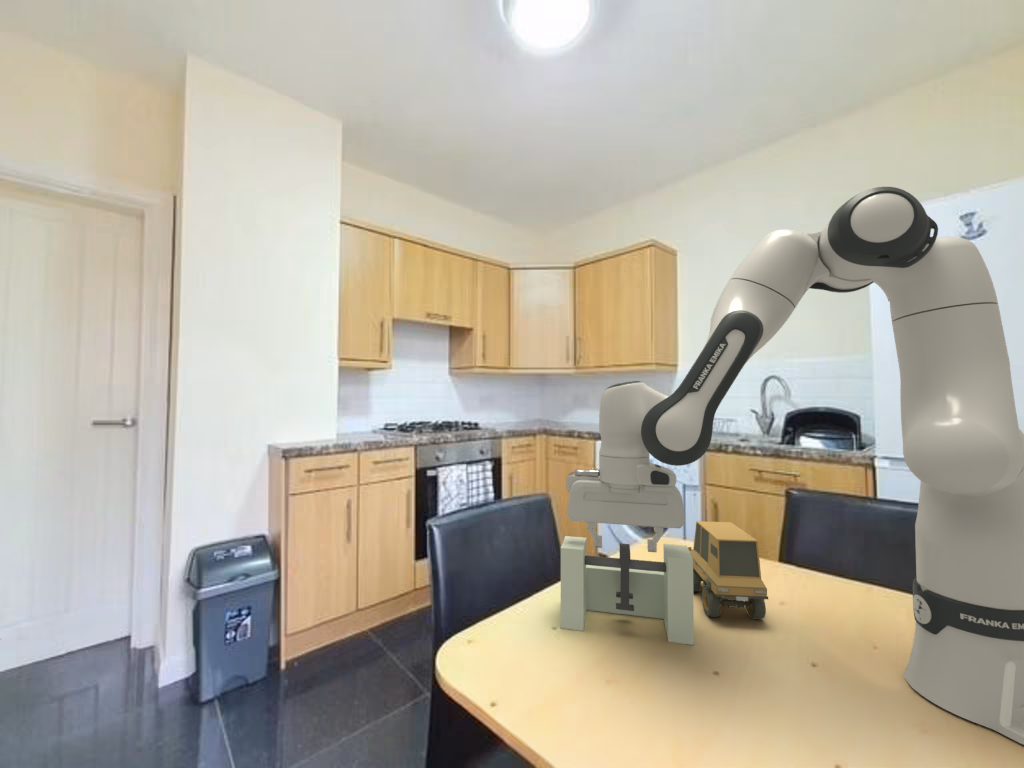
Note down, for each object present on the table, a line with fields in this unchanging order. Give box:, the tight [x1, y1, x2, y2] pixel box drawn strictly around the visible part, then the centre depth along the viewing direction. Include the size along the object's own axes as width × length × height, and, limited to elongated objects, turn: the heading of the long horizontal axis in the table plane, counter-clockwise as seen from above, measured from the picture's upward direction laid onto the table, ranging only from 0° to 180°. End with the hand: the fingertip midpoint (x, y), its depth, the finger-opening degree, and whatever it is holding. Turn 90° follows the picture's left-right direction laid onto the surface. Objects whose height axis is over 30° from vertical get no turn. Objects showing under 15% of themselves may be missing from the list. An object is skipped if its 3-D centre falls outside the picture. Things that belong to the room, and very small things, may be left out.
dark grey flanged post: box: [616, 542, 634, 611], centre depth 79 cm, size 3×7×9 cm, turn 166°
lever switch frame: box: [560, 535, 695, 646], centre depth 80 cm, size 22×10×14 cm, turn 76°
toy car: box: [687, 520, 769, 620], centre depth 88 cm, size 10×19×15 cm, turn 174°
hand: (624, 548), depth 79 cm, fingers open, 8 cm apart
